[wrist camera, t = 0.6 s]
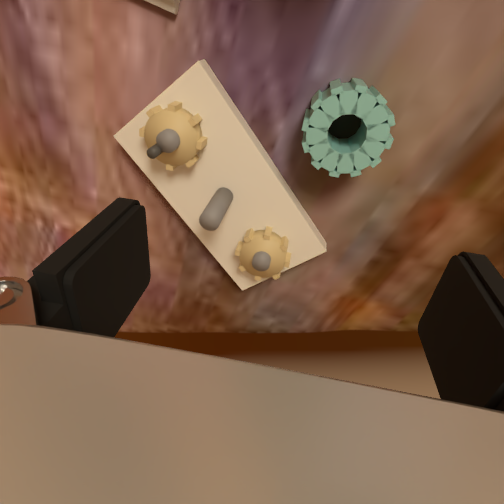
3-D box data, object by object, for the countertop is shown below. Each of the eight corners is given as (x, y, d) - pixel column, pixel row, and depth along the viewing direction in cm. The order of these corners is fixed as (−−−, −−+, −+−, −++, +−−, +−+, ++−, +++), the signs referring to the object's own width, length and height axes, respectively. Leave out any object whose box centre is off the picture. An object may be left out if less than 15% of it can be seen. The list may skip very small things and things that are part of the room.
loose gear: (362, 59, 30) (369, 63, 26) (399, 133, 33) (409, 148, 29) (289, 110, 34) (284, 121, 30) (328, 173, 36) (328, 192, 32)
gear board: (204, 59, 33) (174, 66, 26) (326, 242, 41) (327, 283, 34) (122, 131, 38) (79, 153, 31) (245, 281, 46) (232, 323, 39)
